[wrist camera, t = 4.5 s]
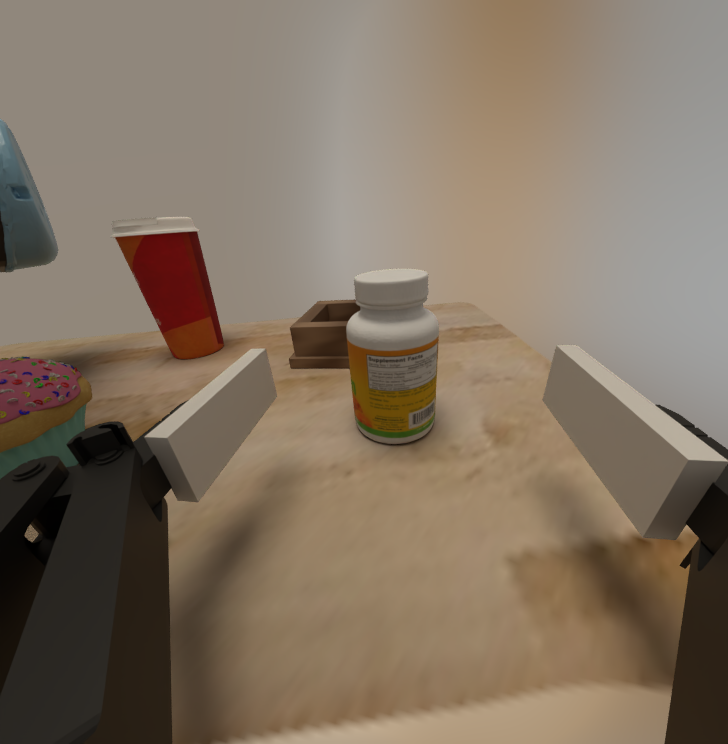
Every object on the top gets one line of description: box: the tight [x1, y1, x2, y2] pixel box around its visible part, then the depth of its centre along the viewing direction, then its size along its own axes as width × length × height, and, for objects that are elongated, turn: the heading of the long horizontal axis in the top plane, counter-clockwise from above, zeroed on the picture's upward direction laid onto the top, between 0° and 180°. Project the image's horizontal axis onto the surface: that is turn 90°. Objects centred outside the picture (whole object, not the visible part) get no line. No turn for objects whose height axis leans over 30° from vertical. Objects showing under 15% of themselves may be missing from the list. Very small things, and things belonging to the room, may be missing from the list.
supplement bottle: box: [346, 269, 439, 444], centre depth 18 cm, size 5×5×10 cm
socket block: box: [289, 300, 360, 368], centre depth 32 cm, size 11×11×4 cm
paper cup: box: [111, 217, 224, 359], centre depth 32 cm, size 8×8×14 cm
